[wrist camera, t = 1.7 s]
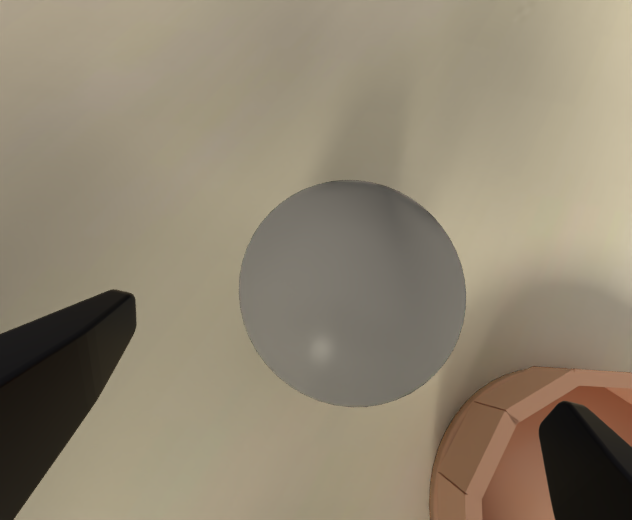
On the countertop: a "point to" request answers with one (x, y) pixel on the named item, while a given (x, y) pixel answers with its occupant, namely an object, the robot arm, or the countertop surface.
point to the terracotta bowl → (516, 441)
